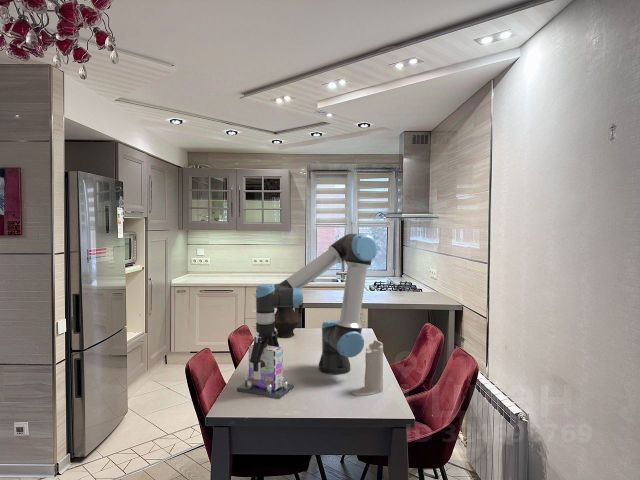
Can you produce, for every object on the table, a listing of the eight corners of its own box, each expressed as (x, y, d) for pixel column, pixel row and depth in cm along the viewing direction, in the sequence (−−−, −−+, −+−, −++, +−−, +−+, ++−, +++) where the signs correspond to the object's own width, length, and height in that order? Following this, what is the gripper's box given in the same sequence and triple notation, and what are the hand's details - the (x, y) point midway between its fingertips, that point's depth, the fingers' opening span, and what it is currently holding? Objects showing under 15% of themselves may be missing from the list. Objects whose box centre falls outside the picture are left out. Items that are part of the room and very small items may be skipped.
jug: (275, 341, 251) (275, 290, 251) (266, 334, 268) (266, 287, 268) (308, 337, 260) (308, 288, 259) (297, 331, 277) (297, 285, 276)
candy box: (283, 386, 174) (283, 347, 173) (274, 391, 169) (274, 350, 168) (257, 380, 181) (257, 342, 181) (248, 385, 176) (248, 345, 176)
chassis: (293, 388, 176) (293, 377, 176) (280, 398, 165) (280, 387, 165) (252, 381, 184) (252, 371, 184) (237, 391, 173) (236, 380, 173)
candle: (348, 391, 173) (348, 342, 172) (375, 385, 179) (375, 338, 179) (358, 397, 166) (358, 347, 166) (386, 391, 173) (386, 342, 173)
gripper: (272, 315, 187) (272, 363, 188) (240, 327, 164) (240, 382, 165) (287, 317, 184) (287, 365, 185) (257, 329, 161) (257, 384, 162)
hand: (265, 373), depth 175 cm, fingers open, 13 cm apart
